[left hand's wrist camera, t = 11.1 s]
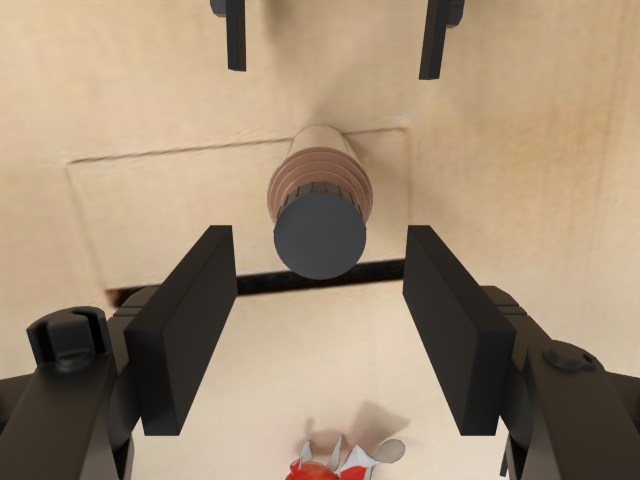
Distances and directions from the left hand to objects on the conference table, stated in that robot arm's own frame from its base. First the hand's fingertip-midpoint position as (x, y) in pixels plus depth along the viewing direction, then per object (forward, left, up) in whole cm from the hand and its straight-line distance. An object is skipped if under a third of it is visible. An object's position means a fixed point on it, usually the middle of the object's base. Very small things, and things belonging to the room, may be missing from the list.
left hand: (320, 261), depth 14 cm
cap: (0, 0, -3) cm, 3 cm away
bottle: (0, 0, -24) cm, 24 cm away
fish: (-29, -20, -24) cm, 43 cm away
